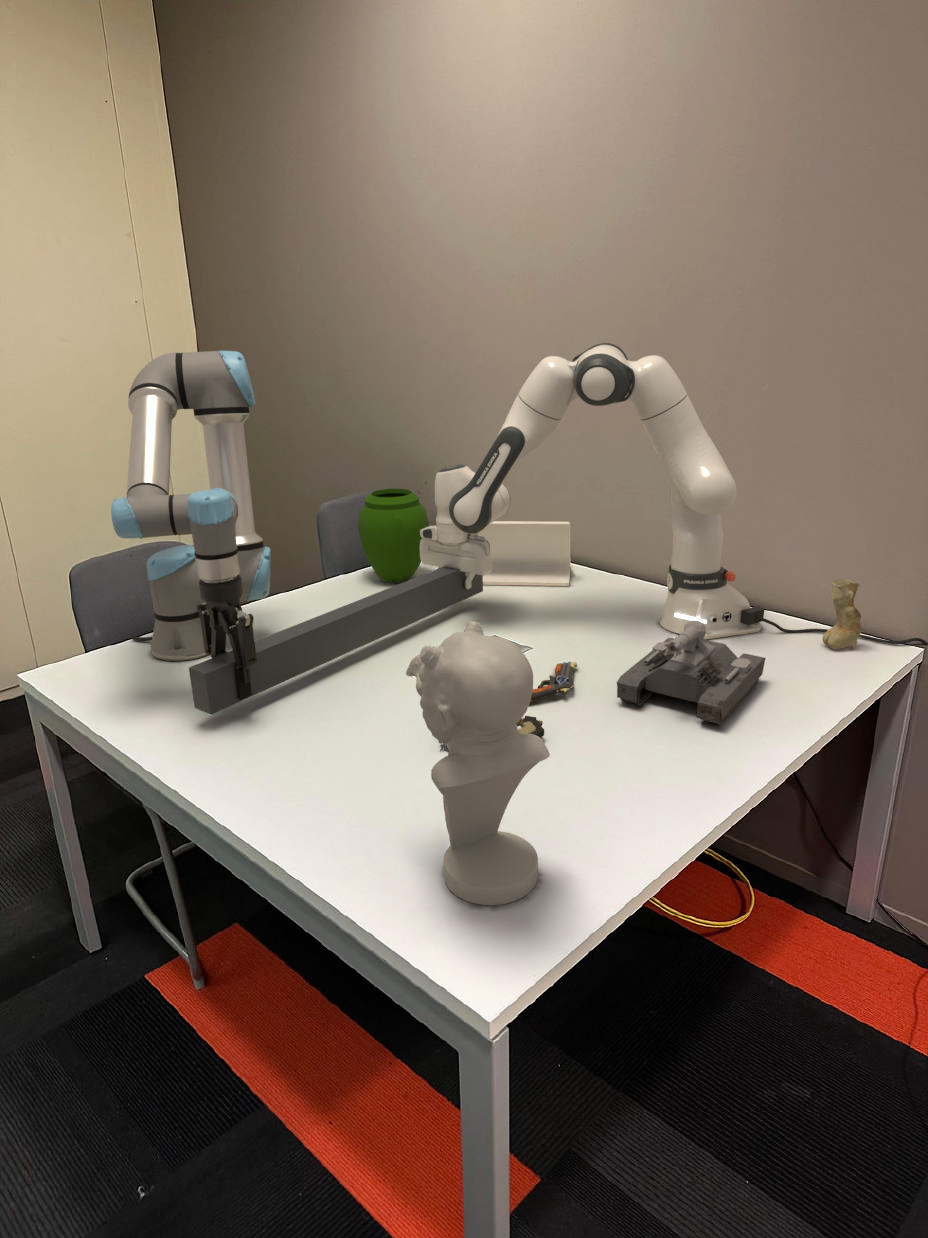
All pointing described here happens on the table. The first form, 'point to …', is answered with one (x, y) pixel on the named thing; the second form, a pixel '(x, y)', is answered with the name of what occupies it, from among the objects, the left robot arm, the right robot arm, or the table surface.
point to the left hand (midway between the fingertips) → (235, 693)
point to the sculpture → (844, 616)
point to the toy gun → (556, 681)
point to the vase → (392, 533)
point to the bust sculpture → (480, 758)
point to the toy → (693, 674)
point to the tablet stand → (528, 553)
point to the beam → (329, 636)
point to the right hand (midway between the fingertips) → (456, 586)
